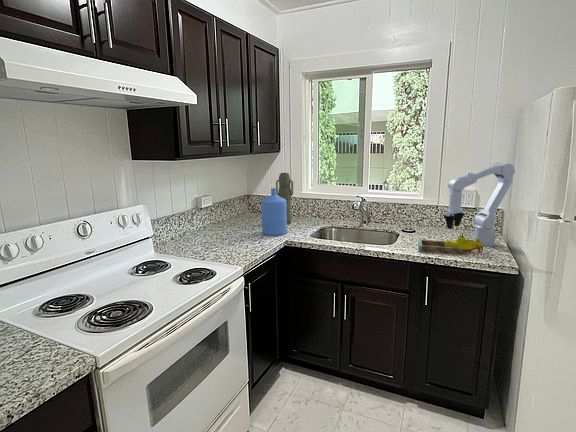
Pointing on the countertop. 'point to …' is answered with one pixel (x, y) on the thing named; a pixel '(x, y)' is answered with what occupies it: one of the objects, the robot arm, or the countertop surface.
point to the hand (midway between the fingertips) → (453, 227)
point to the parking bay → (437, 247)
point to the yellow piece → (465, 244)
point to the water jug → (274, 215)
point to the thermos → (285, 192)
